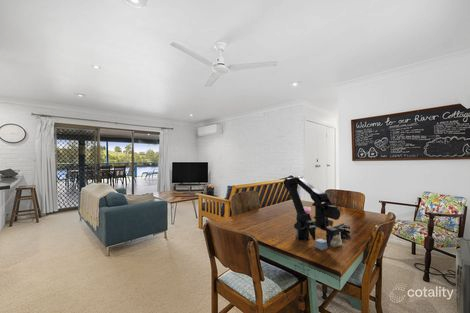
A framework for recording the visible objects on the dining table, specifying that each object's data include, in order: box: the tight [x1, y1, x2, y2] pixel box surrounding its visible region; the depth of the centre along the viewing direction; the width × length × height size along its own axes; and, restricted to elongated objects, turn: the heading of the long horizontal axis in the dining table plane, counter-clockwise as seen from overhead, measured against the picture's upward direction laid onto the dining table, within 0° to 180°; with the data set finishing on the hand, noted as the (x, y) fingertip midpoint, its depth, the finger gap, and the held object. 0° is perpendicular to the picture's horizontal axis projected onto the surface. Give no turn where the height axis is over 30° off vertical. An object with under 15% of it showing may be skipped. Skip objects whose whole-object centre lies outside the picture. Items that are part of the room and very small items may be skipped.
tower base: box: [325, 239, 343, 248], centre depth 116 cm, size 6×6×4 cm
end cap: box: [333, 222, 351, 240], centre depth 128 cm, size 10×7×7 cm
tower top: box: [325, 232, 341, 241], centre depth 116 cm, size 6×6×4 cm
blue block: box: [314, 238, 329, 251], centre depth 111 cm, size 4×4×4 cm
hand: (321, 242), depth 111 cm, fingers open, 9 cm apart
